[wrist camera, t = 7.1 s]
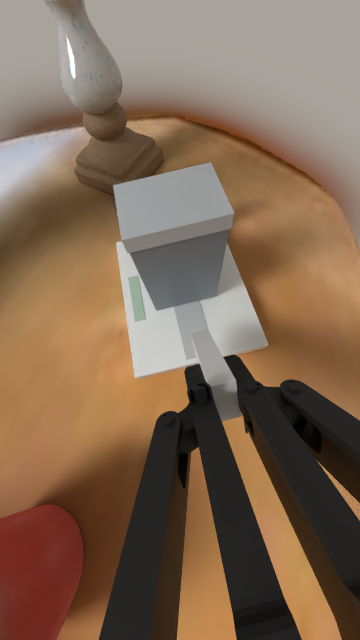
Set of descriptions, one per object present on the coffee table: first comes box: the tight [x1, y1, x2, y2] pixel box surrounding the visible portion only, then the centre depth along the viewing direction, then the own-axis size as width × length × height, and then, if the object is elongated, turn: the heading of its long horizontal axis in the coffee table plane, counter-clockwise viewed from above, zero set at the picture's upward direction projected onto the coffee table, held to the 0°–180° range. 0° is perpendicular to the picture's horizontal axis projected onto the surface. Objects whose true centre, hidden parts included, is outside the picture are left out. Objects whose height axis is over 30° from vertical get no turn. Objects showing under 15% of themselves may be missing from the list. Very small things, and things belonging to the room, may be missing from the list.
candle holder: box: [44, 0, 164, 195], centre depth 24 cm, size 11×11×24 cm
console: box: [113, 198, 269, 379], centre depth 22 cm, size 18×14×8 cm
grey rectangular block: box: [113, 162, 235, 311], centre depth 19 cm, size 5×7×11 cm
